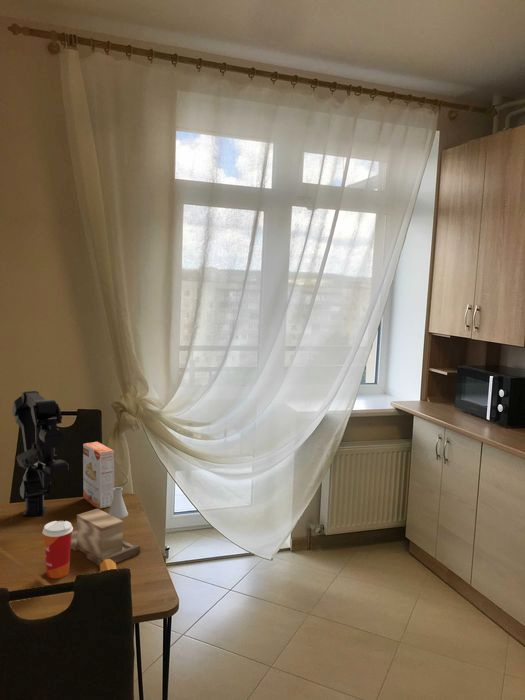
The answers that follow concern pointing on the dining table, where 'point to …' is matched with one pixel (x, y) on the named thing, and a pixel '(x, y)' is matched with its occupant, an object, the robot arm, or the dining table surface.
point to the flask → (118, 504)
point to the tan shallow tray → (117, 557)
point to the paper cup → (57, 548)
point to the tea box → (99, 533)
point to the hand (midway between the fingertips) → (45, 487)
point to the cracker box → (98, 474)
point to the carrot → (107, 565)
